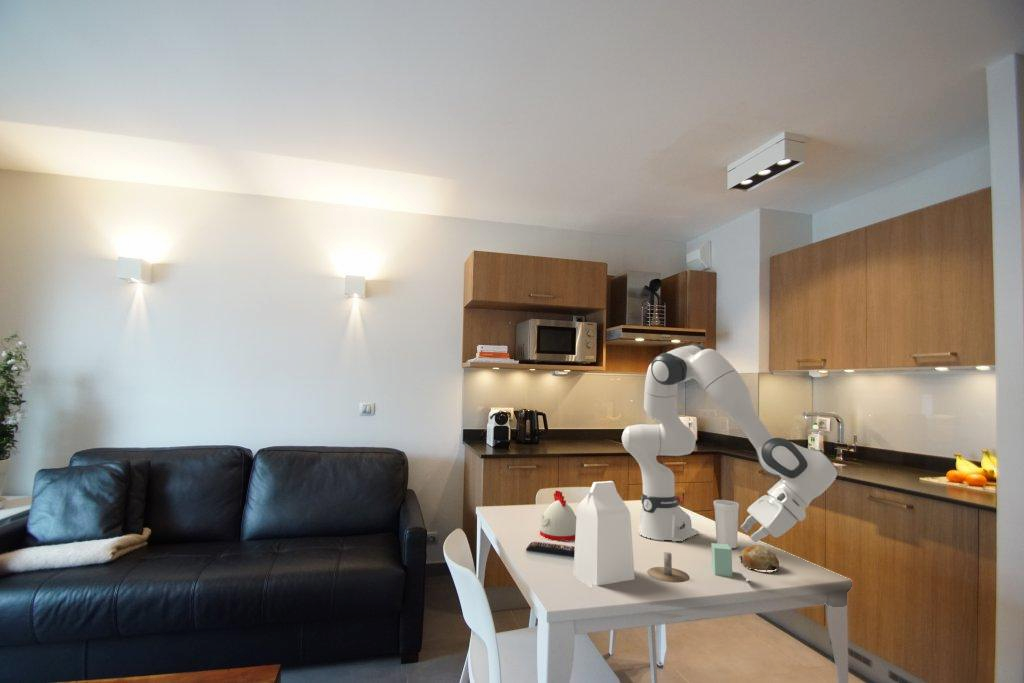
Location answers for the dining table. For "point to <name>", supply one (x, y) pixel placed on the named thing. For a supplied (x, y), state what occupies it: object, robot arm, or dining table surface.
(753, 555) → the bread roll
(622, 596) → the dining table surface
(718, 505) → the cup
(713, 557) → the mint rectangular pillar
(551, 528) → the kitchen timer
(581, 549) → the milk
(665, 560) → the post stand
